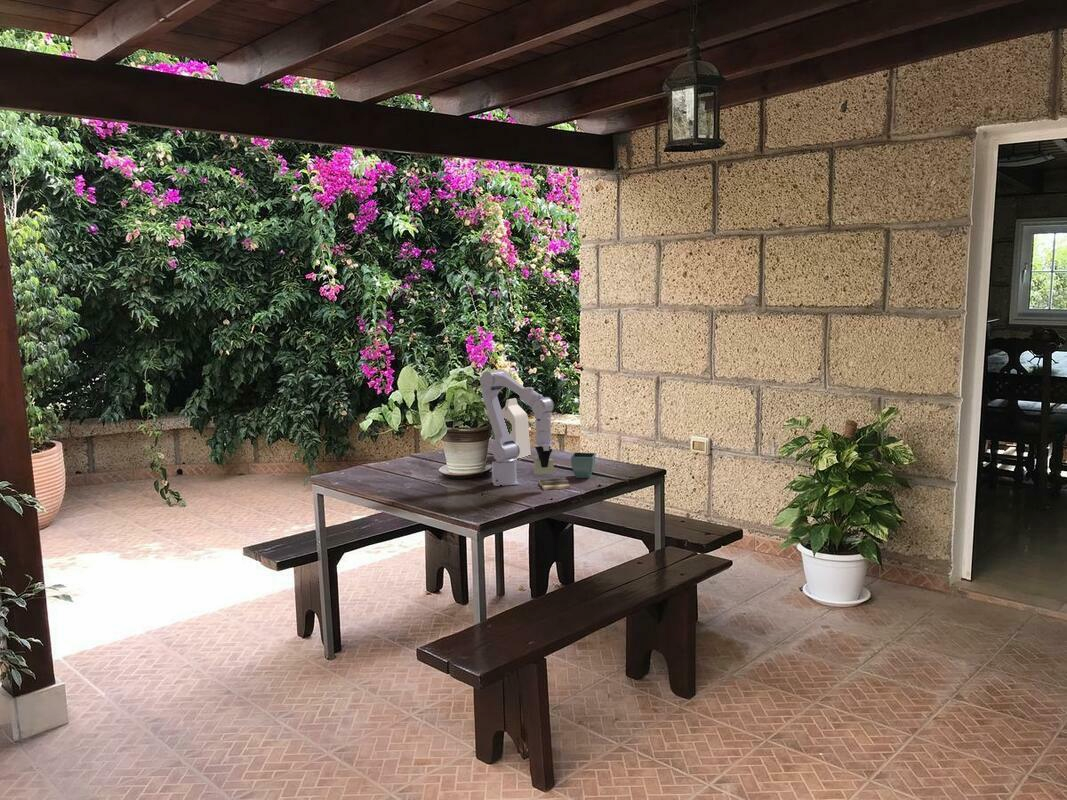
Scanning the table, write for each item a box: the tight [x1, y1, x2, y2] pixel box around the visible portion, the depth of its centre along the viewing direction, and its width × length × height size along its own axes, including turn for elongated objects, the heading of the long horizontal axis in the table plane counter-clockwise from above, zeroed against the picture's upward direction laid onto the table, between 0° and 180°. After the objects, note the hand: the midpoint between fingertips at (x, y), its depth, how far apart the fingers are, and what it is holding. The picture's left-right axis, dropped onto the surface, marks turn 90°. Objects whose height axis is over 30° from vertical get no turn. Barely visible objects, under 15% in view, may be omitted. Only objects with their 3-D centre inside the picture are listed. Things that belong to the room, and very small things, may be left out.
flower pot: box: [570, 452, 596, 479], centre depth 342 cm, size 9×9×9 cm
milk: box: [501, 397, 532, 459], centre depth 385 cm, size 12×12×26 cm
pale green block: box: [533, 458, 555, 475], centre depth 322 cm, size 7×2×5 cm, turn 98°
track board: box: [538, 477, 571, 491], centre depth 329 cm, size 10×12×2 cm
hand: (543, 466), depth 322 cm, fingers closed on pale green block, 2 cm apart
